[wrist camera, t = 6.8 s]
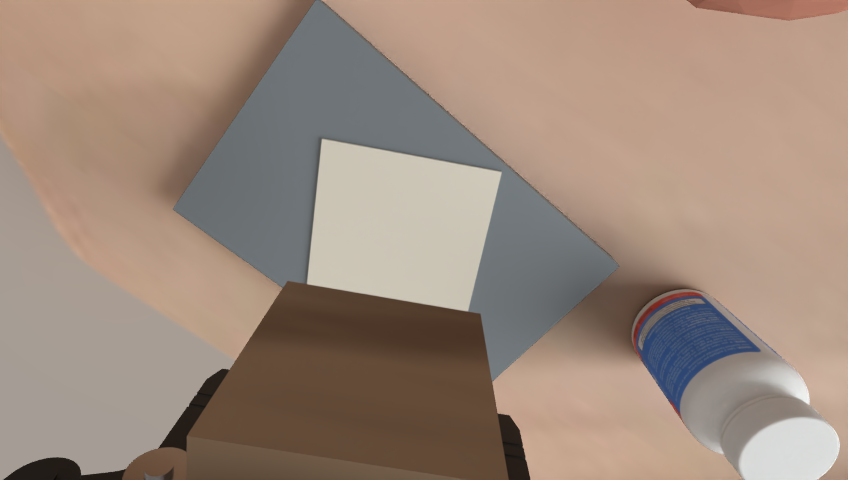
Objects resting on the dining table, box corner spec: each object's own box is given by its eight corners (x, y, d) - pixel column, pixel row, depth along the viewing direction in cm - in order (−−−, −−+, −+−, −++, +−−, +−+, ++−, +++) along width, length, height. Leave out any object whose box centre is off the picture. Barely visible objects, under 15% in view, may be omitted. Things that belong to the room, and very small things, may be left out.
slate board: (183, 202, 27) (170, 210, 25) (322, 1, 23) (315, -2, 22) (457, 399, 31) (457, 414, 30) (612, 257, 27) (621, 267, 26)
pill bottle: (612, 350, 29) (691, 485, 20) (656, 274, 28) (764, 384, 18) (693, 376, 30) (806, 518, 21) (742, 303, 28) (888, 424, 19)
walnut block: (287, 280, 14) (186, 436, 8) (480, 313, 14) (509, 486, 8) (274, 433, 16) (186, 641, 10) (443, 459, 16) (447, 677, 10)
